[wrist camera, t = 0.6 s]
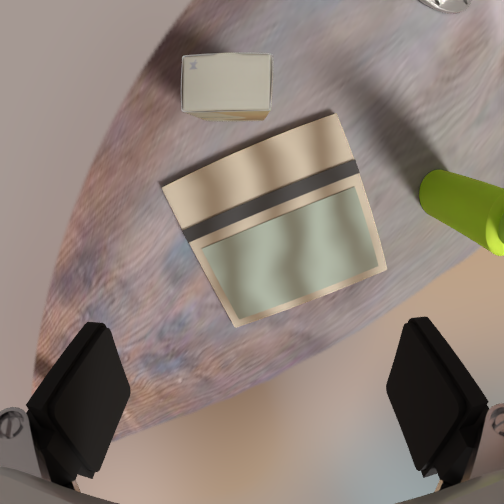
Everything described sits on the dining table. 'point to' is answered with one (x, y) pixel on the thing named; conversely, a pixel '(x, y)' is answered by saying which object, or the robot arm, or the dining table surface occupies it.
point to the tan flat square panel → (280, 221)
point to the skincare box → (227, 86)
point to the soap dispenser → (466, 207)
